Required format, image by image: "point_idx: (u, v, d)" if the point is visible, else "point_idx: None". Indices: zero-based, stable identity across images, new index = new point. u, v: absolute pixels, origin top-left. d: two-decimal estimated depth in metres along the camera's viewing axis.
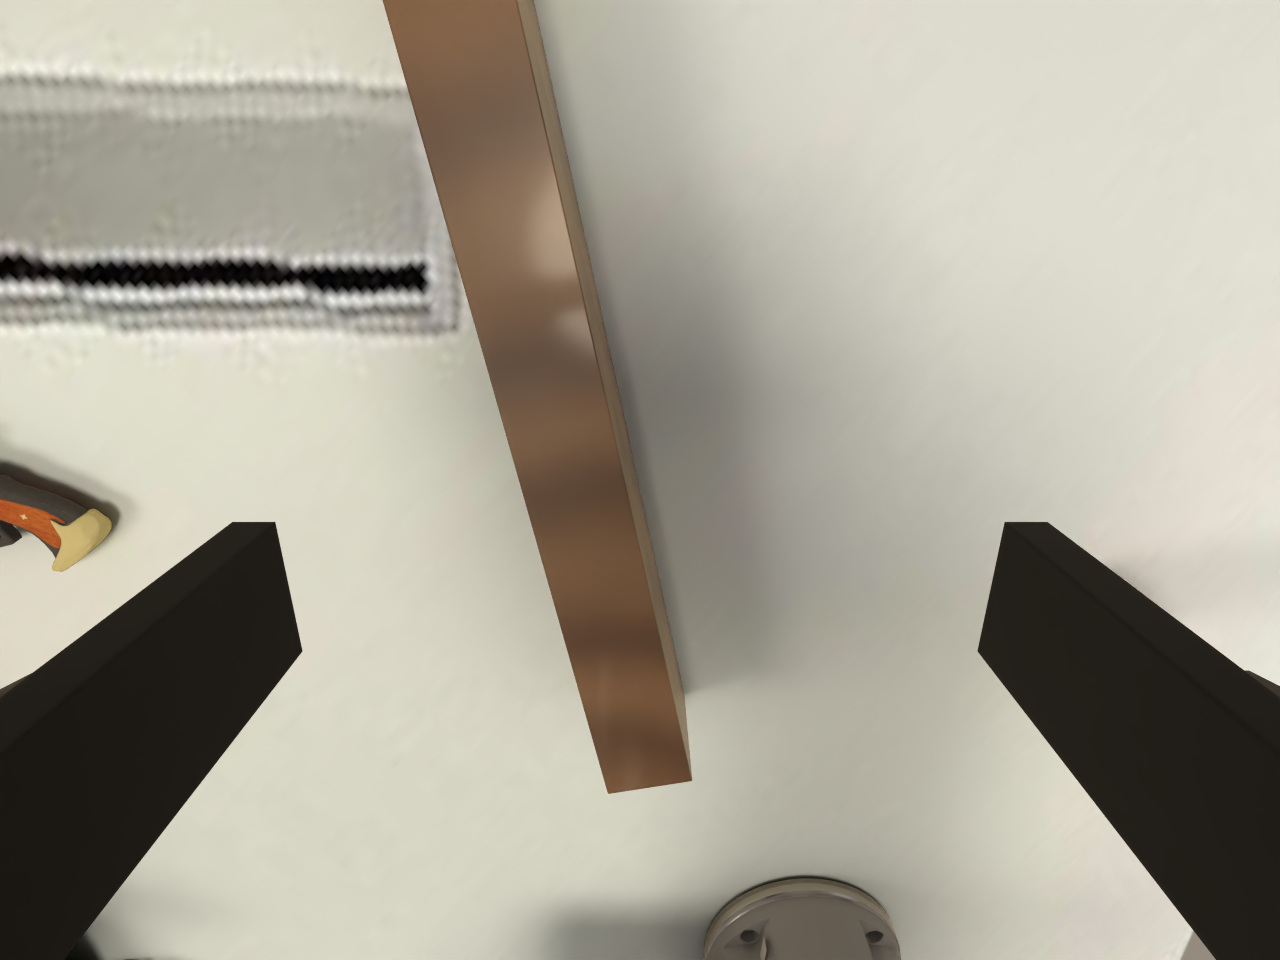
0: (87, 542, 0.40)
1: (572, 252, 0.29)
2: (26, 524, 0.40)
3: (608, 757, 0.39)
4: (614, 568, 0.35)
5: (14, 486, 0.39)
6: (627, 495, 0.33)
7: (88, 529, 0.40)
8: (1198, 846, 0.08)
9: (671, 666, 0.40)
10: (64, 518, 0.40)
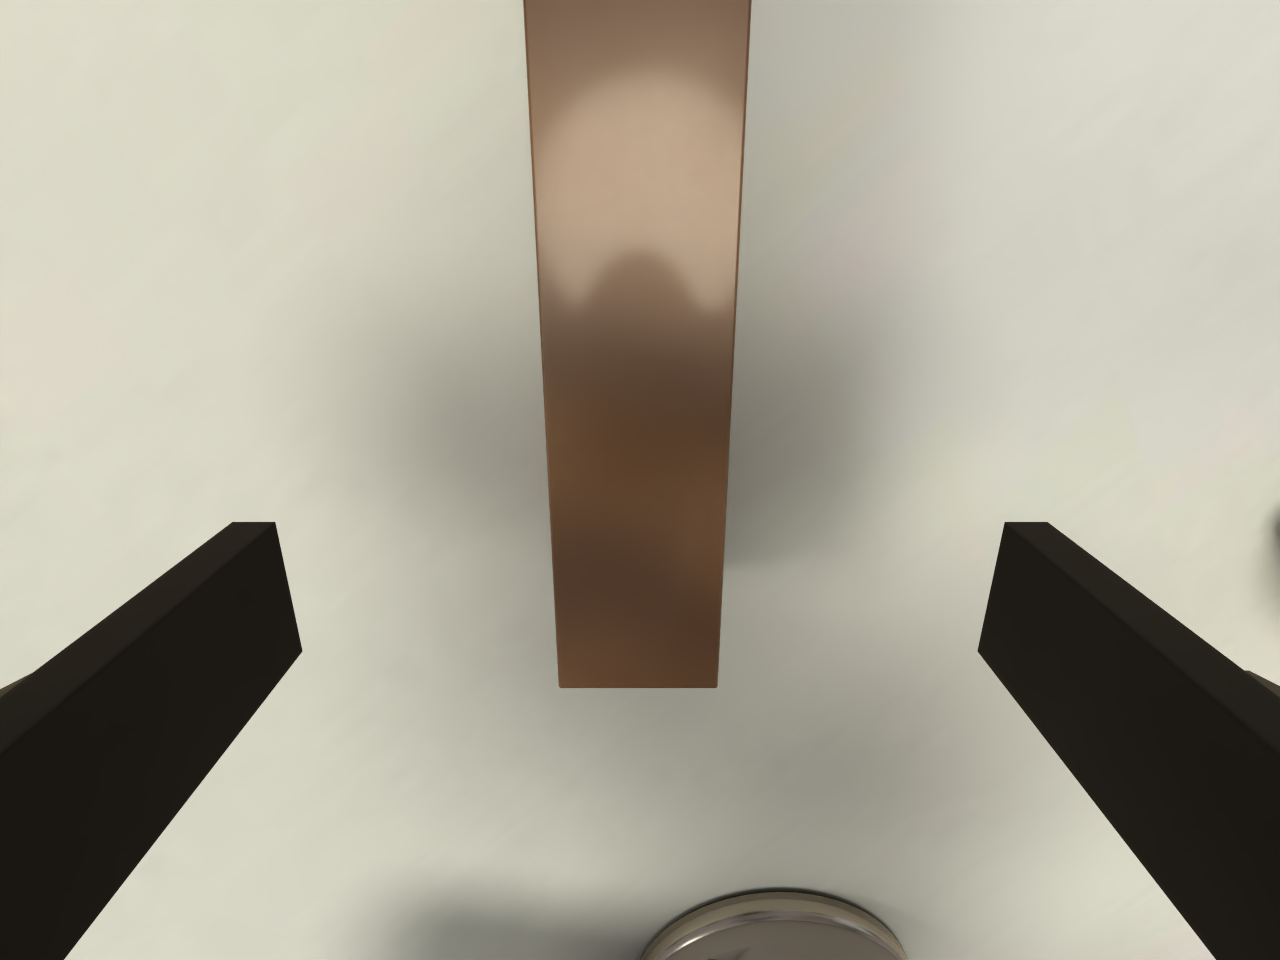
0: None
1: None
2: None
3: (575, 616, 0.21)
4: (680, 187, 0.16)
5: None
6: (749, 2, 0.15)
7: None
8: (1198, 846, 0.08)
9: None
10: None
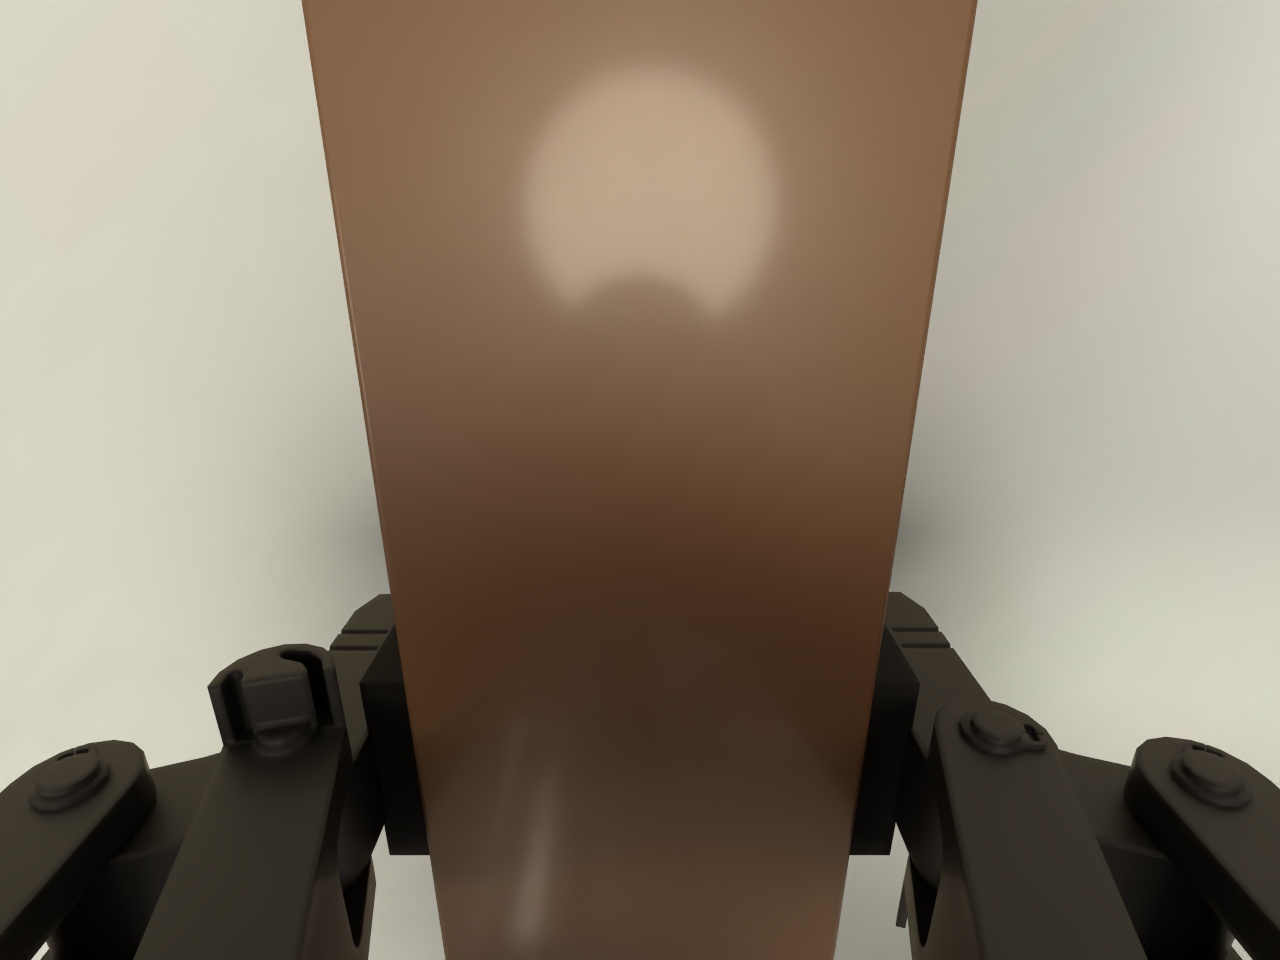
0: None
1: None
2: None
3: None
4: (770, 132, 0.05)
5: None
6: None
7: None
8: None
9: None
10: None
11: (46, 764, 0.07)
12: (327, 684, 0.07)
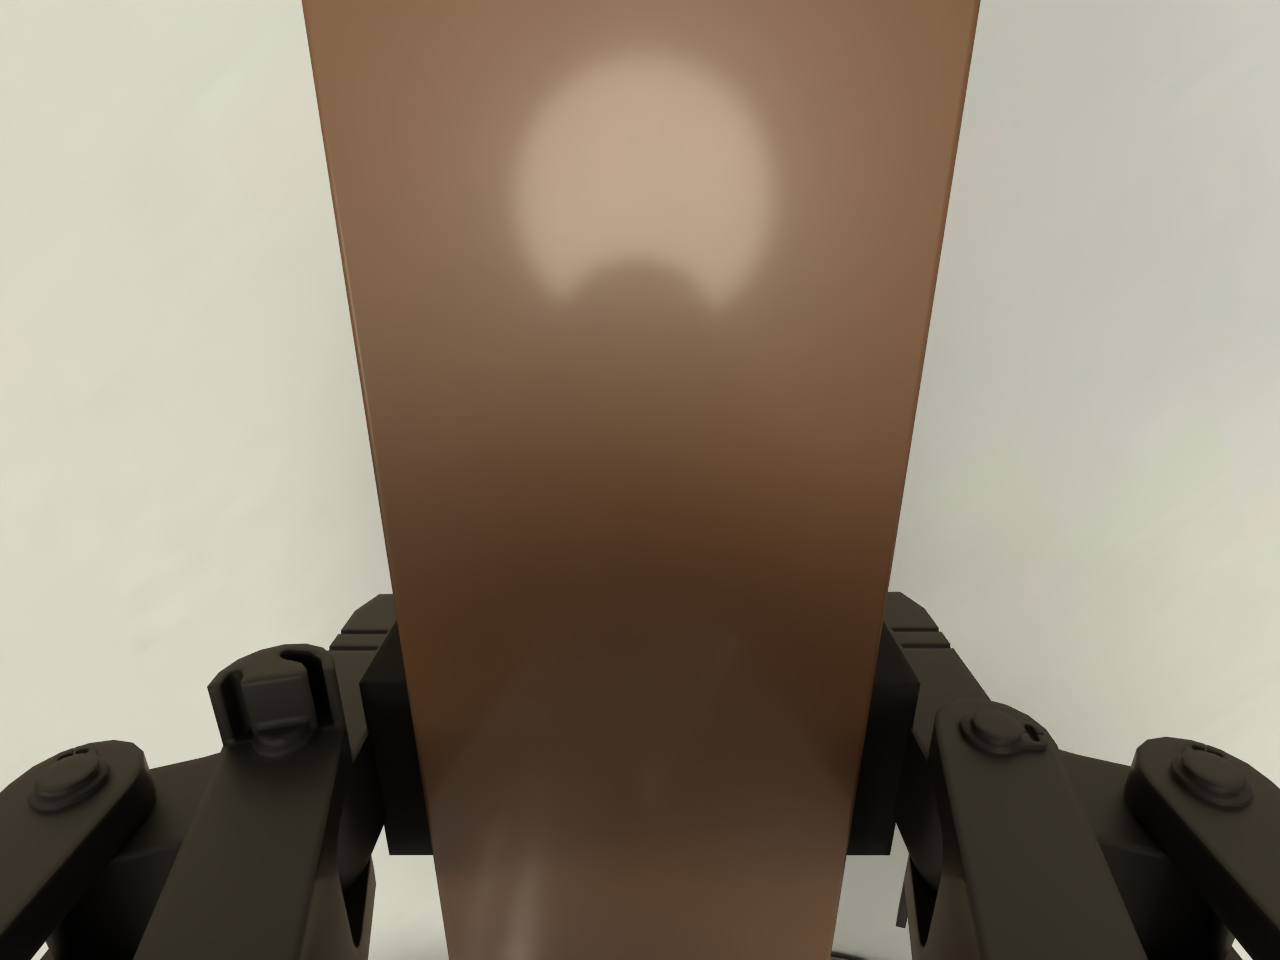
0: None
1: None
2: None
3: None
4: (771, 134, 0.05)
5: None
6: None
7: None
8: None
9: None
10: None
11: (46, 764, 0.07)
12: (326, 684, 0.07)
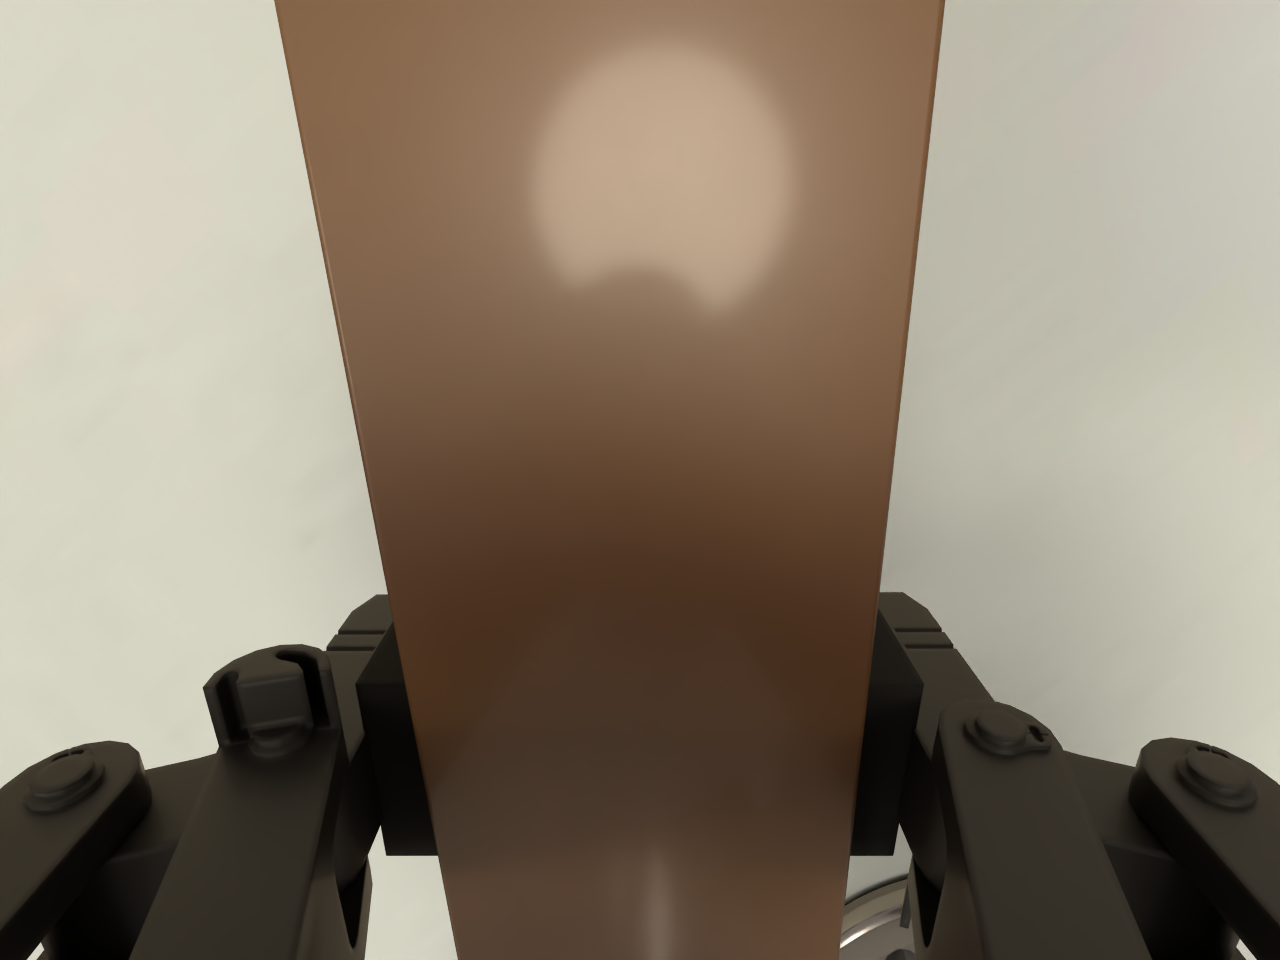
0: None
1: None
2: None
3: None
4: (745, 119, 0.05)
5: None
6: None
7: None
8: None
9: None
10: None
11: (41, 766, 0.07)
12: (322, 684, 0.07)
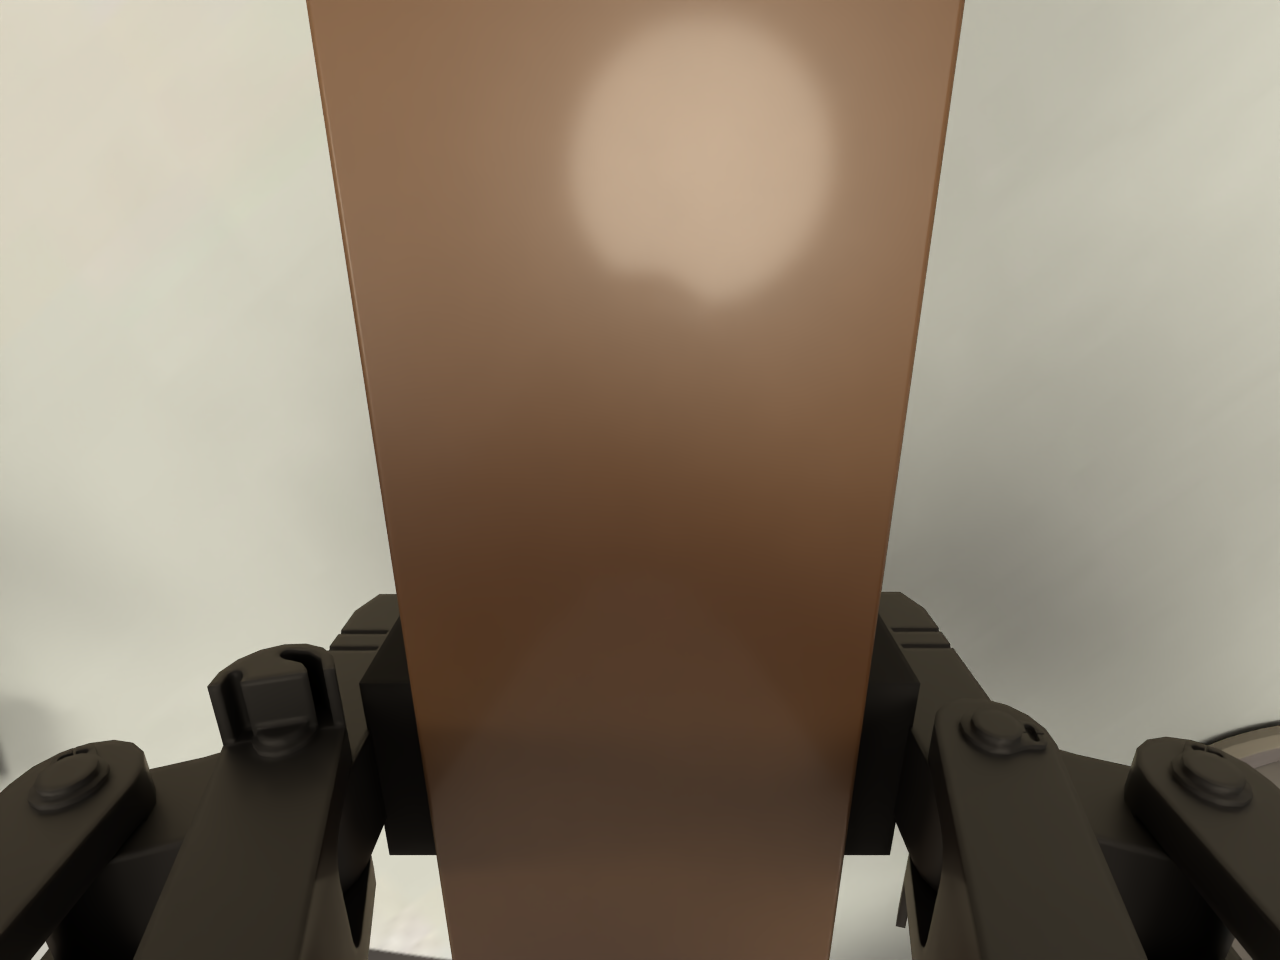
0: None
1: None
2: None
3: None
4: (763, 124, 0.05)
5: None
6: None
7: None
8: None
9: None
10: None
11: (45, 765, 0.07)
12: (326, 684, 0.07)
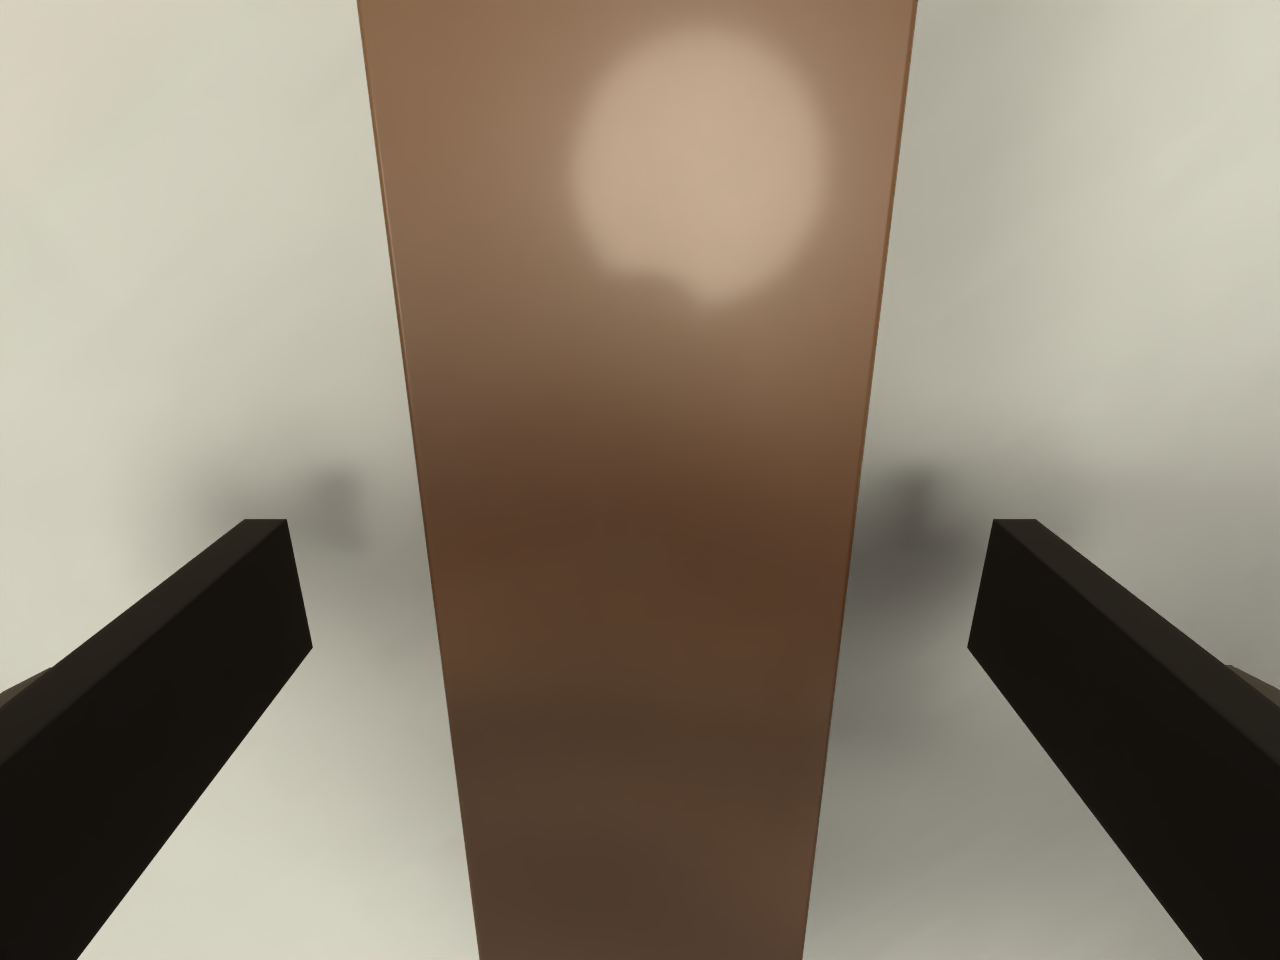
0: None
1: None
2: None
3: None
4: (747, 107, 0.06)
5: None
6: None
7: None
8: (1178, 837, 0.08)
9: None
10: None
11: None
12: None
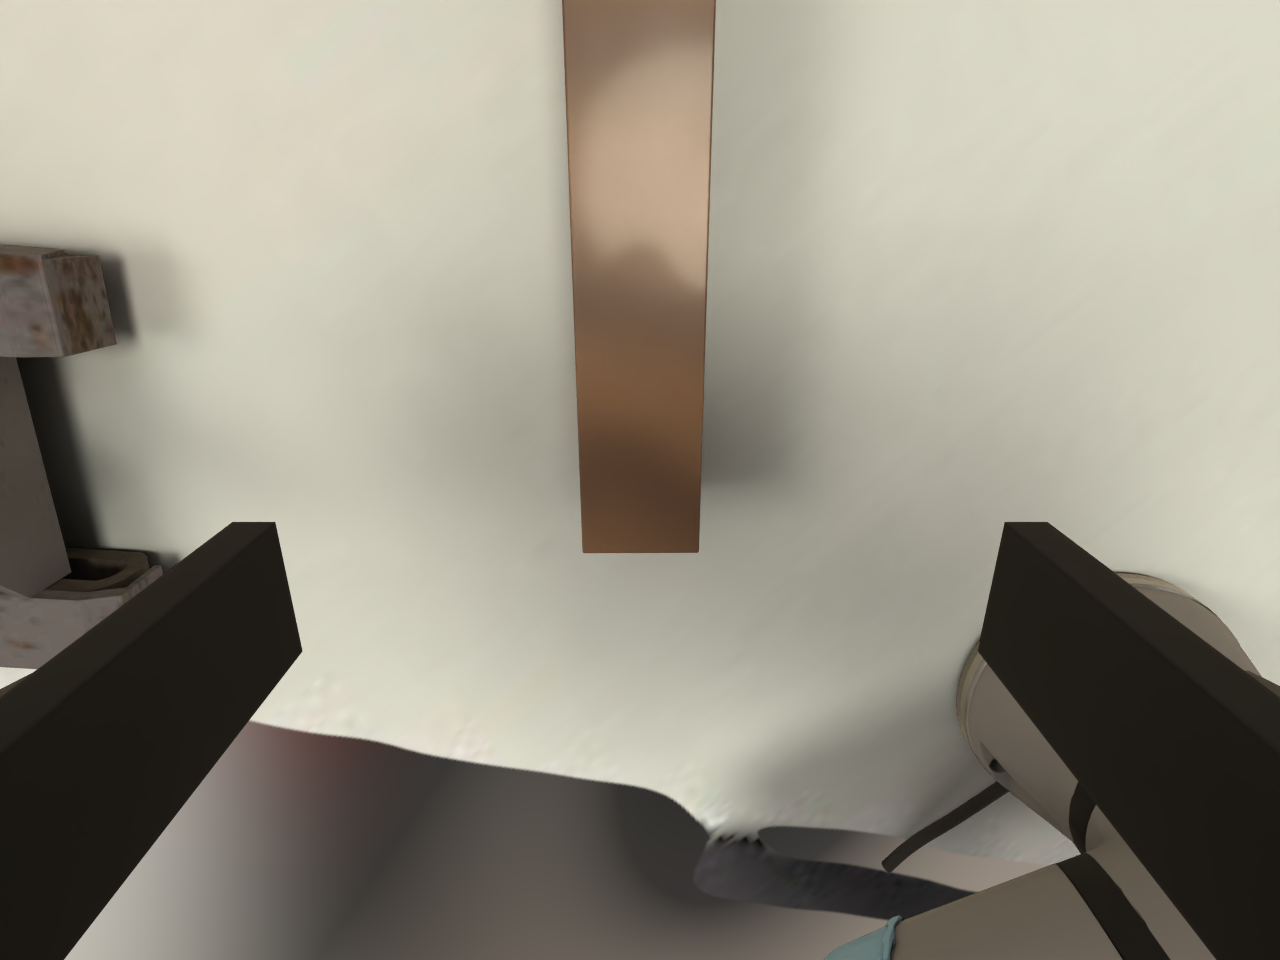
0: None
1: None
2: None
3: (595, 496, 0.29)
4: (668, 186, 0.24)
5: None
6: (712, 65, 0.23)
7: None
8: (1198, 846, 0.08)
9: None
10: None
11: None
12: None
